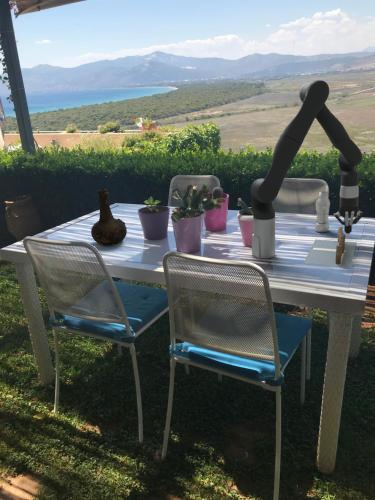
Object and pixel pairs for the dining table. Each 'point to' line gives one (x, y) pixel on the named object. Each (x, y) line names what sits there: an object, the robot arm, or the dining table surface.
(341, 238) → the fence fixed
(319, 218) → the plastic bottle
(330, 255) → the card
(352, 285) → the dining table surface
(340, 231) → the fence gate
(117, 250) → the dining table surface
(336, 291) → the dining table surface
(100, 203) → the brown long-necked vase
